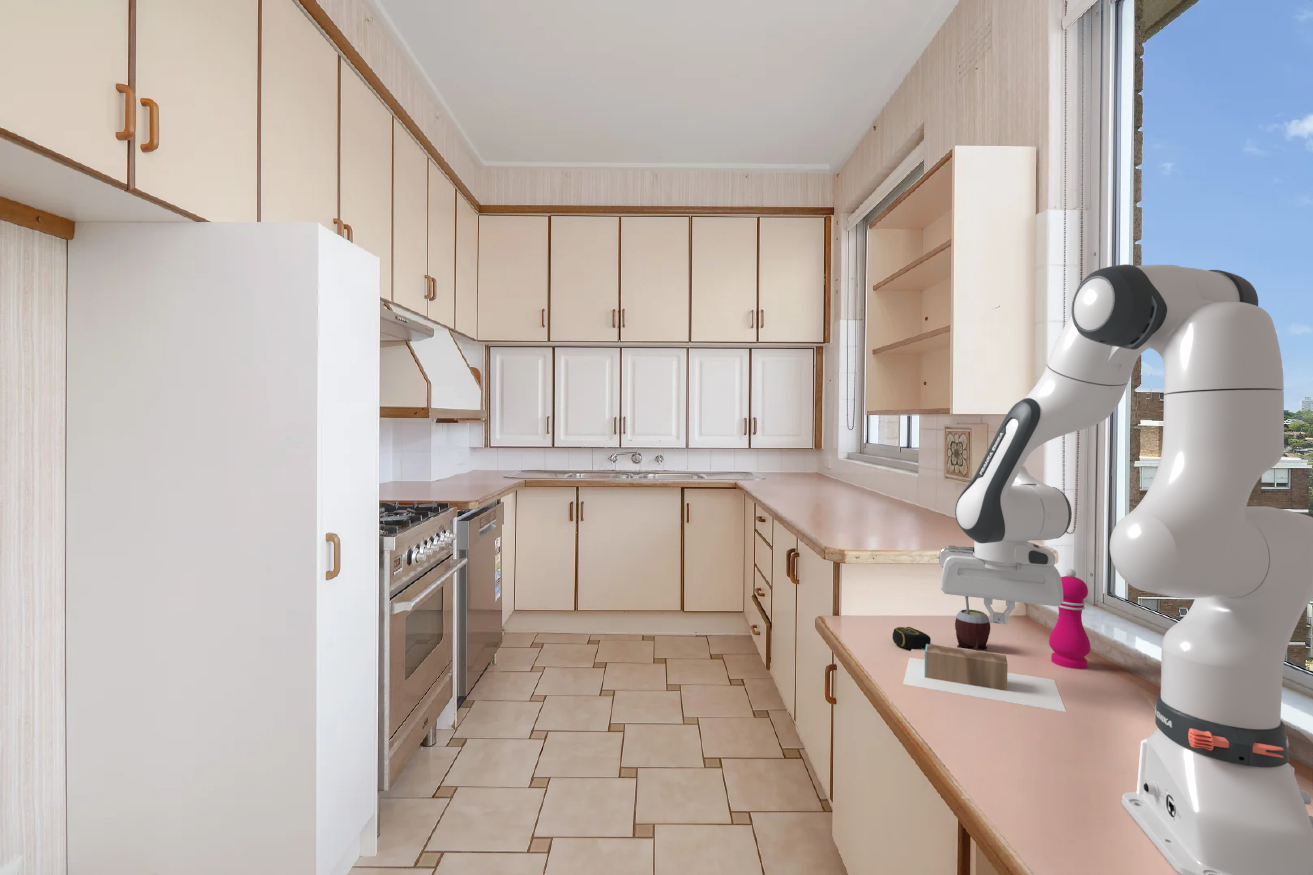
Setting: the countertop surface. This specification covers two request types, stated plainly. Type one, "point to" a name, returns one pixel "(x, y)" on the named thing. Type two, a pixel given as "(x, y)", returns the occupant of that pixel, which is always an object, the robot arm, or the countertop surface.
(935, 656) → the walnut block
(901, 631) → the tape measure
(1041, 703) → the white flat rectangular panel
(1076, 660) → the pepper mill
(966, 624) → the mate gourd
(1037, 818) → the countertop surface
